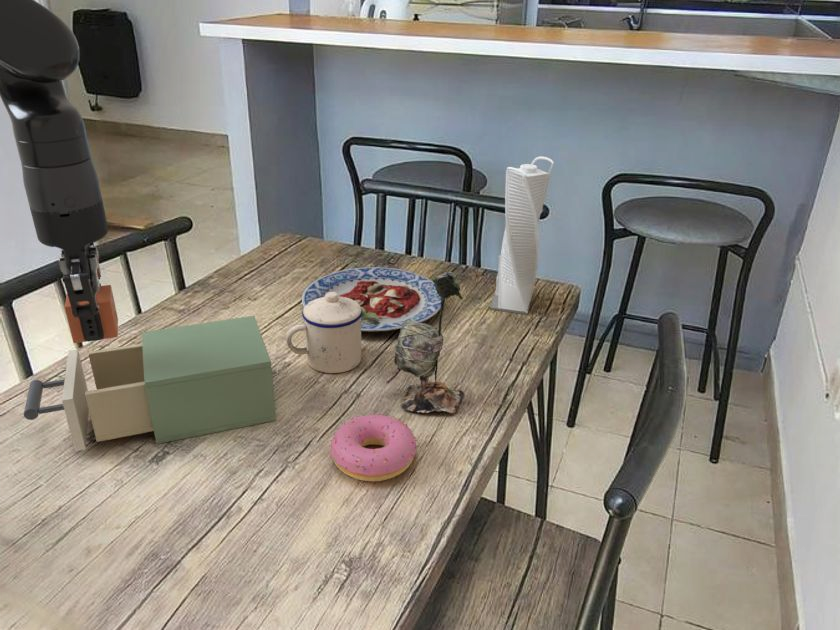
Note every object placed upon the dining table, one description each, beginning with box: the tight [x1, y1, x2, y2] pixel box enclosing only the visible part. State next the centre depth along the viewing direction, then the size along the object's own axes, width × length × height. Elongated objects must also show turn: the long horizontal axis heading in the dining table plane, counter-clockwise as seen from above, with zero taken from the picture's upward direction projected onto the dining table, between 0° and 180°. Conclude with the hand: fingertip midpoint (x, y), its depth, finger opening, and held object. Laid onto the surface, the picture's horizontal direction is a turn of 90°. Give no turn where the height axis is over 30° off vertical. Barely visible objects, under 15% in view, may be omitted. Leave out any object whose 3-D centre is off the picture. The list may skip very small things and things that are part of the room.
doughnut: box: [329, 414, 418, 482], centre depth 86 cm, size 11×11×4 cm
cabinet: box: [141, 315, 277, 445], centre depth 95 cm, size 16×14×10 cm
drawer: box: [23, 343, 154, 452], centre depth 91 cm, size 20×12×8 cm, turn 111°
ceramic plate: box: [301, 266, 442, 332], centre depth 124 cm, size 26×26×3 cm
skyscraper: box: [489, 155, 555, 315], centre depth 120 cm, size 8×8×28 cm
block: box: [64, 284, 119, 344], centre depth 85 cm, size 5×5×5 cm
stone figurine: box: [385, 271, 466, 414], centre depth 94 cm, size 8×11×20 cm
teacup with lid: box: [285, 292, 363, 374], centre depth 105 cm, size 12×9×12 cm
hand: (95, 328), depth 85 cm, fingers closed on block, 5 cm apart
